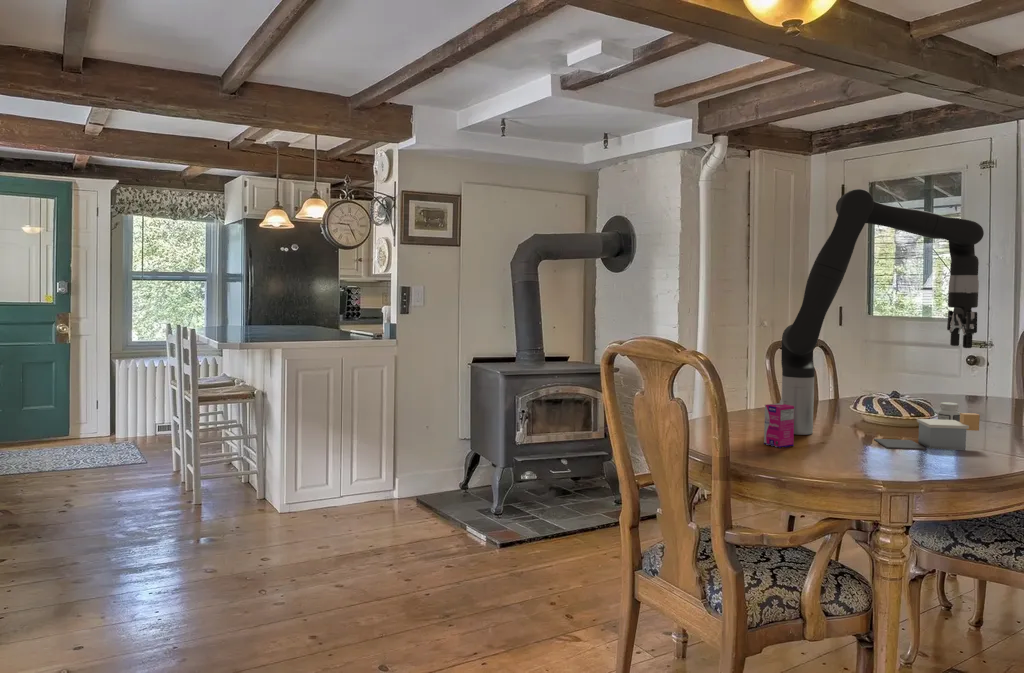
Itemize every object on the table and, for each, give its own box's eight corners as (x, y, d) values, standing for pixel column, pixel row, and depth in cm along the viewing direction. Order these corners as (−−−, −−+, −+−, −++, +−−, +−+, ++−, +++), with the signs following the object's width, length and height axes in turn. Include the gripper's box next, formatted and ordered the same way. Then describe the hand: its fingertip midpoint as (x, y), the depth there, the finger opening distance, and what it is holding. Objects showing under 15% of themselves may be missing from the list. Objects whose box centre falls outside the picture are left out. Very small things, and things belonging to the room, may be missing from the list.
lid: (929, 431, 211) (929, 415, 210) (916, 425, 220) (917, 409, 220) (984, 433, 208) (985, 416, 208) (969, 427, 218) (970, 411, 218)
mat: (887, 448, 212) (887, 446, 212) (873, 440, 223) (874, 438, 223) (926, 449, 210) (926, 448, 210) (910, 441, 222) (910, 440, 222)
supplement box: (762, 444, 215) (764, 404, 215) (778, 442, 218) (779, 402, 218) (778, 448, 210) (780, 407, 210) (794, 446, 213) (795, 405, 212)
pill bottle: (953, 434, 233) (954, 402, 232) (962, 438, 227) (964, 405, 227) (933, 434, 233) (935, 401, 233) (942, 437, 228) (943, 404, 227)
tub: (929, 448, 211) (930, 427, 211) (918, 442, 220) (919, 421, 220) (965, 450, 210) (966, 428, 209) (952, 443, 219) (953, 422, 218)
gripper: (939, 291, 230) (937, 345, 231) (959, 291, 216) (957, 348, 217) (966, 291, 229) (964, 345, 230) (988, 291, 215) (986, 349, 216)
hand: (960, 346), depth 224 cm, fingers open, 8 cm apart
